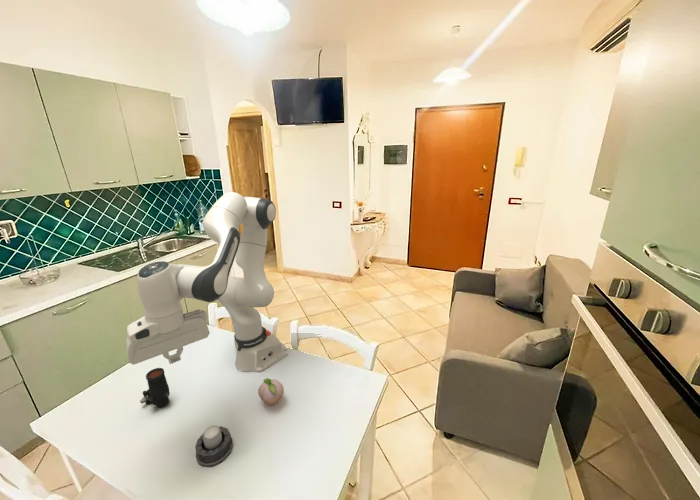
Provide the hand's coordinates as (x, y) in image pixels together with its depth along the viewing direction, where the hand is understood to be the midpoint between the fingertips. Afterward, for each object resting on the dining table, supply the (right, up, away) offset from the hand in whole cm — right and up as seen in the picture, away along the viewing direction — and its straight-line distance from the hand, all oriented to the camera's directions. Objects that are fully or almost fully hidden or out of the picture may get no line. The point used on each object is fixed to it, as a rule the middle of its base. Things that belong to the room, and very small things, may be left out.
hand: (175, 361), depth 86 cm
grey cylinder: (+10, -28, +4) cm, 30 cm away
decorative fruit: (+23, -24, +22) cm, 39 cm away
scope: (-18, -24, +22) cm, 37 cm away
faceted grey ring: (+10, -29, +4) cm, 31 cm away
